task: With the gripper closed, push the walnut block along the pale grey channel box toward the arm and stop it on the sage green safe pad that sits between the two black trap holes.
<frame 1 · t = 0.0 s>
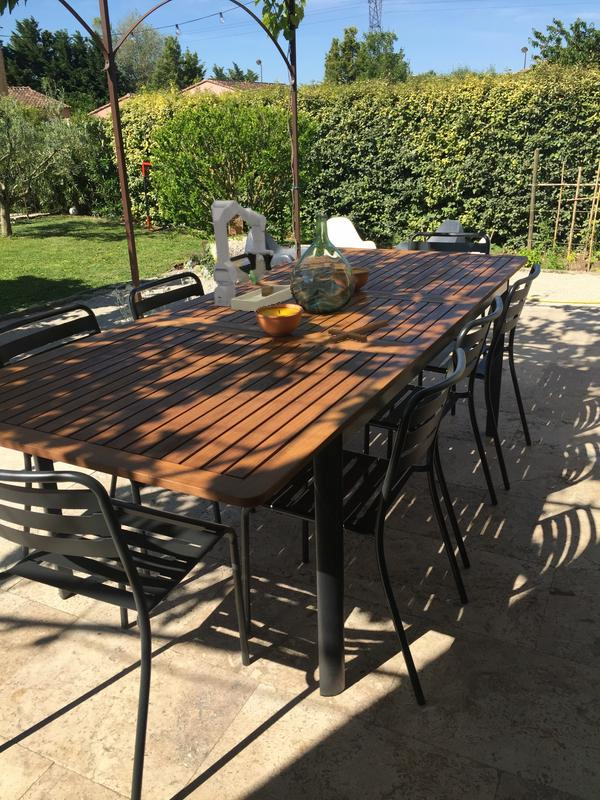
hand: (260, 269, 304), 10 cm above the table, tool pointing down, fingers open, 7 cm apart
cross: (359, 335, 230), on the table
walnut block: (267, 295, 285), point 2 cm above the table, touching trap box
decorative bird: (250, 284, 325), on the table
trap box: (264, 302, 284), on the table
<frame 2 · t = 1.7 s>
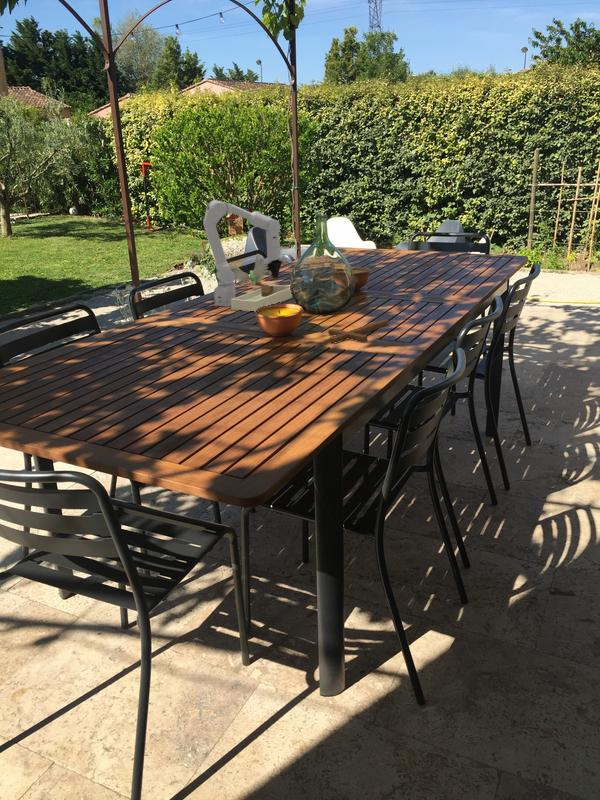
hand: (275, 277, 289), 9 cm above the table, tool pointing down, fingers closed
nothing on the table moved.
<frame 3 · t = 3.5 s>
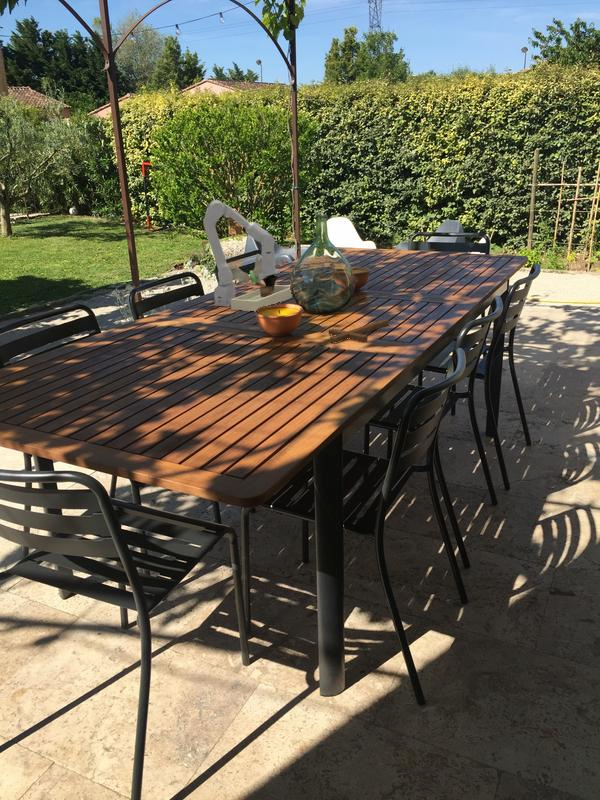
hand: (270, 292, 287), 4 cm above the table, tool pointing down, fingers closed
walnut block: (266, 296, 285), point 3 cm above the table, touching gripper, trap box
everything else where it was.
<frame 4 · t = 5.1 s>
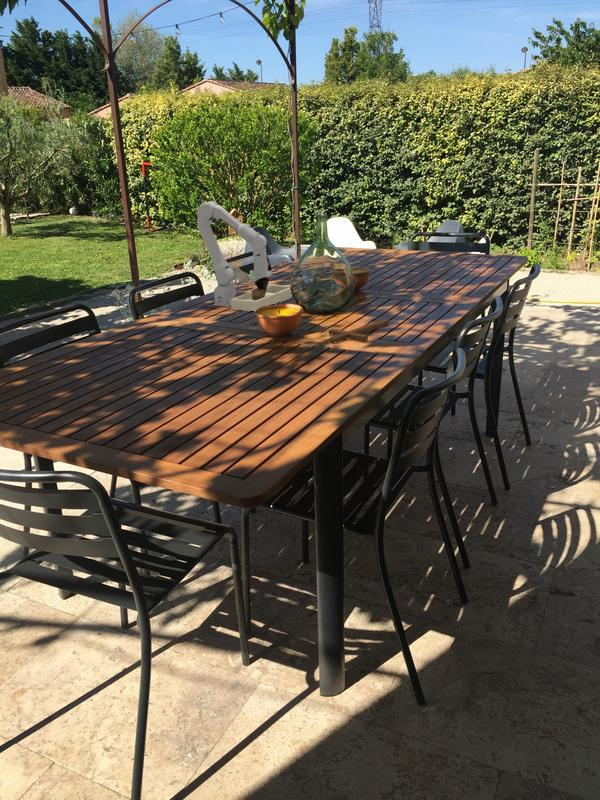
hand: (262, 295, 282), 4 cm above the table, tool pointing down, fingers closed
walnut block: (258, 299, 279), point 3 cm above the table, touching gripper, trap box
everything else where it was.
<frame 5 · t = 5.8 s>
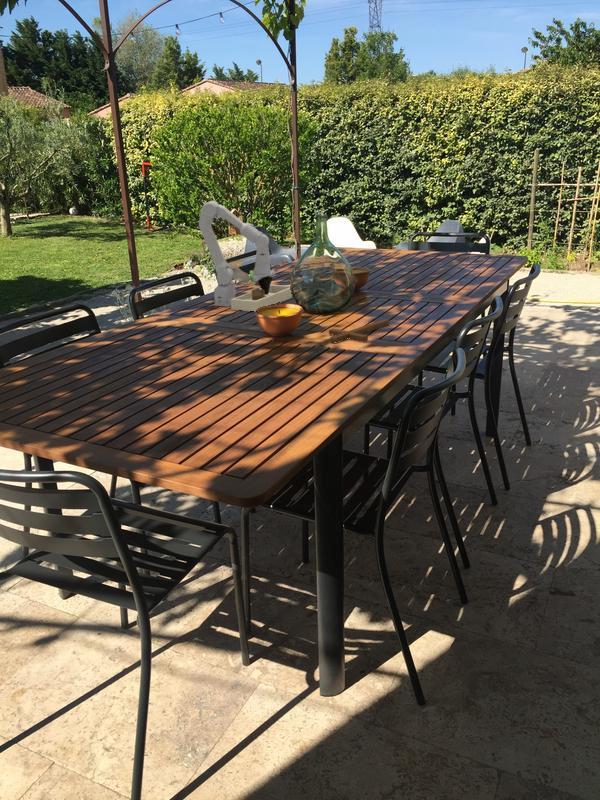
hand: (265, 294, 284), 4 cm above the table, tool pointing down, fingers closed
walnut block: (258, 299, 279), point 2 cm above the table, touching trap box
everything else where it was.
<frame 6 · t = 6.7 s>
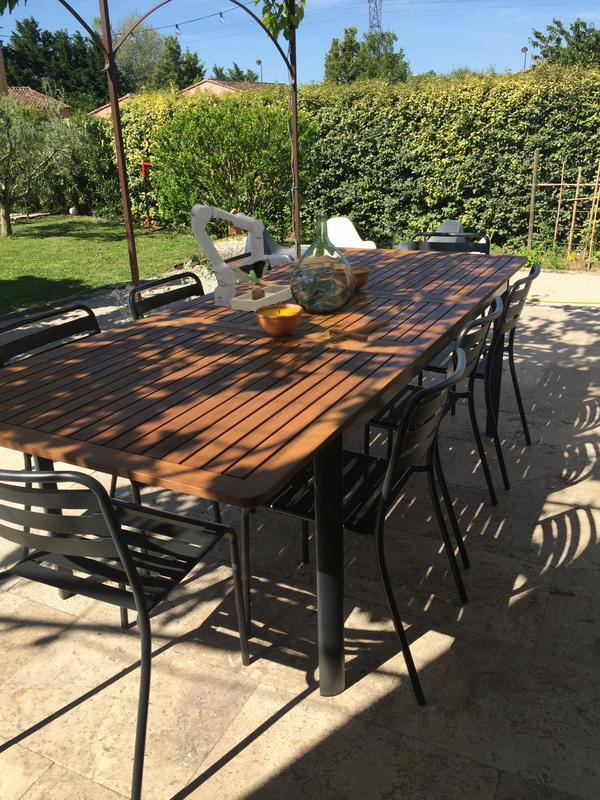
hand: (259, 278, 289), 9 cm above the table, tool pointing down, fingers closed
nothing on the table moved.
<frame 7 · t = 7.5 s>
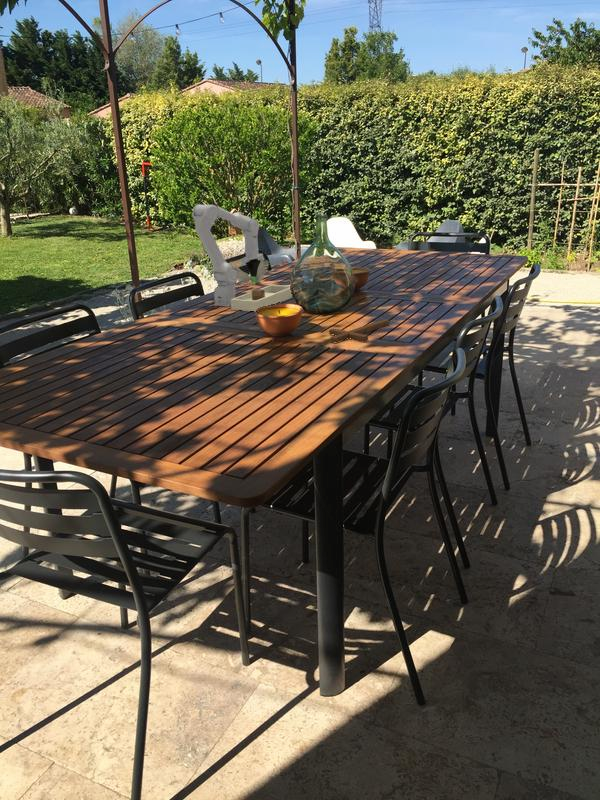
hand: (253, 276, 293), 9 cm above the table, tool pointing down, fingers closed
nothing on the table moved.
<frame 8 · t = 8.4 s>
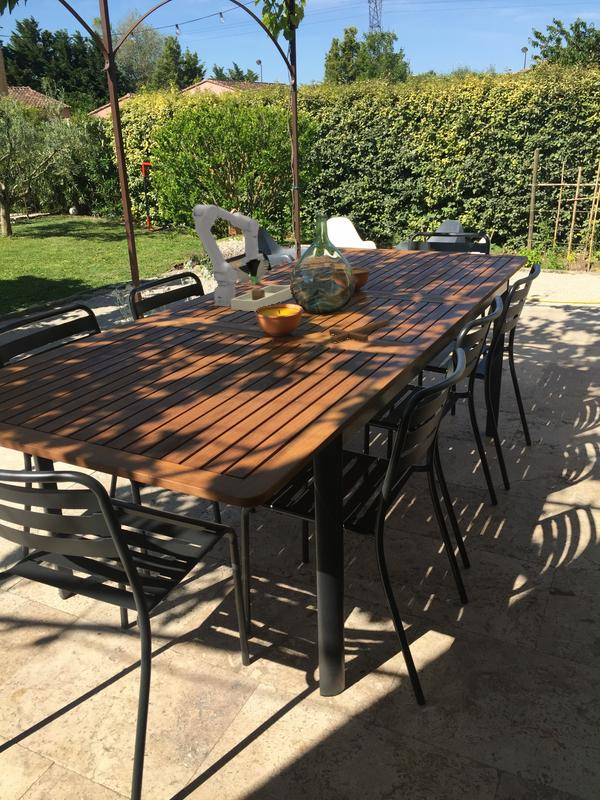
hand: (253, 276, 293), 9 cm above the table, tool pointing down, fingers closed
nothing on the table moved.
at the end: walnut block 0.3 cm from the target spot, point 2.5 cm above the table; walnut block moved 7.5 cm from its start; walnut block tilted 0° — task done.
